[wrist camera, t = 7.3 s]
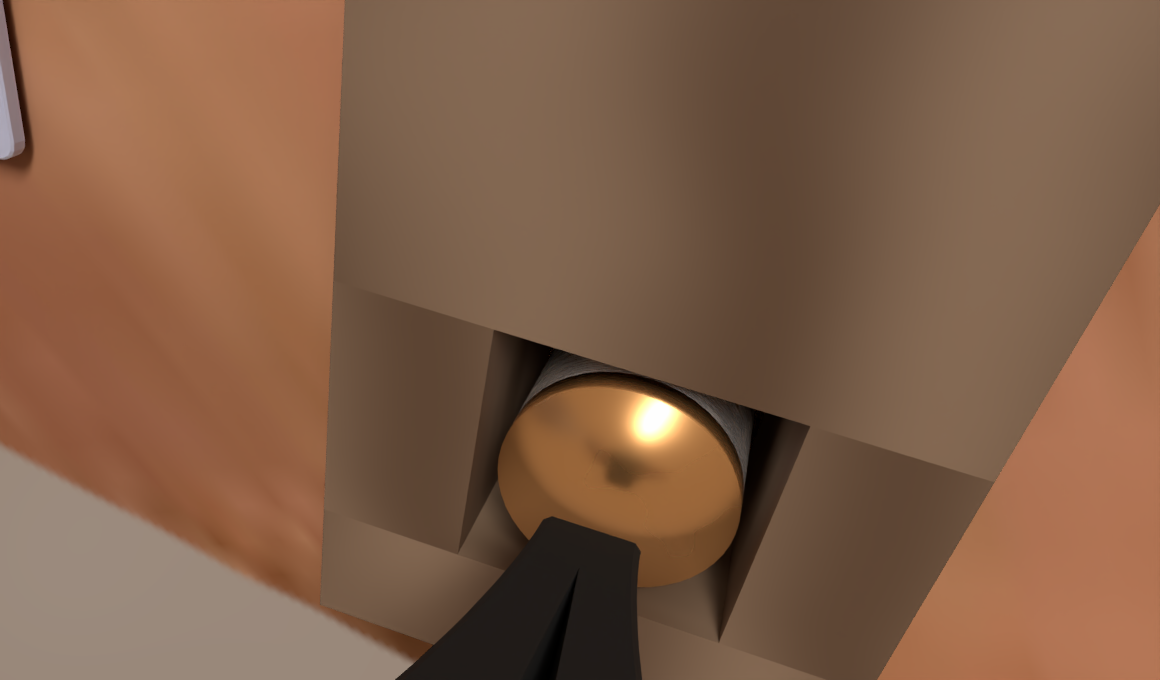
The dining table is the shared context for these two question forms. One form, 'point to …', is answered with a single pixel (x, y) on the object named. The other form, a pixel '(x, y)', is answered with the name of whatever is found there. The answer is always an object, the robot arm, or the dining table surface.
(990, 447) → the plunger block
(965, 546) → the dining table surface
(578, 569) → the robot arm
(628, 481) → the peg
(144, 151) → the dining table surface
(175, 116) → the dining table surface
